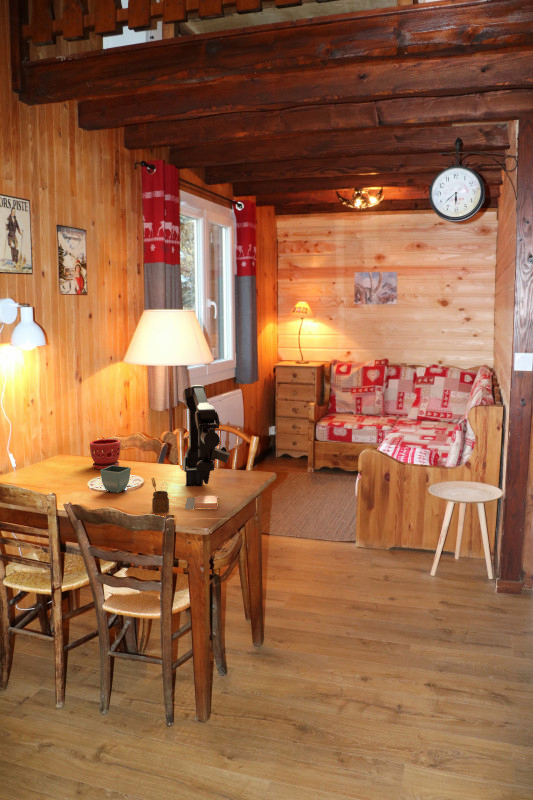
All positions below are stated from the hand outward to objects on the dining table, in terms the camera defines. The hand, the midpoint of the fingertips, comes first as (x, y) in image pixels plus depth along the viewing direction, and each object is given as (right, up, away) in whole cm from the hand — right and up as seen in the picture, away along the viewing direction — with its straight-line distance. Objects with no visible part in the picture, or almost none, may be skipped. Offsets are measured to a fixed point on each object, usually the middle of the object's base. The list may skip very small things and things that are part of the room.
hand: (206, 483), depth 246 cm
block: (0, -6, +3) cm, 6 cm away
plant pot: (-50, +1, +52) cm, 72 cm away
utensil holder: (-16, -9, -8) cm, 20 cm away
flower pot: (-37, -5, +16) cm, 41 cm away
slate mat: (-2, -8, 0) cm, 8 cm away
